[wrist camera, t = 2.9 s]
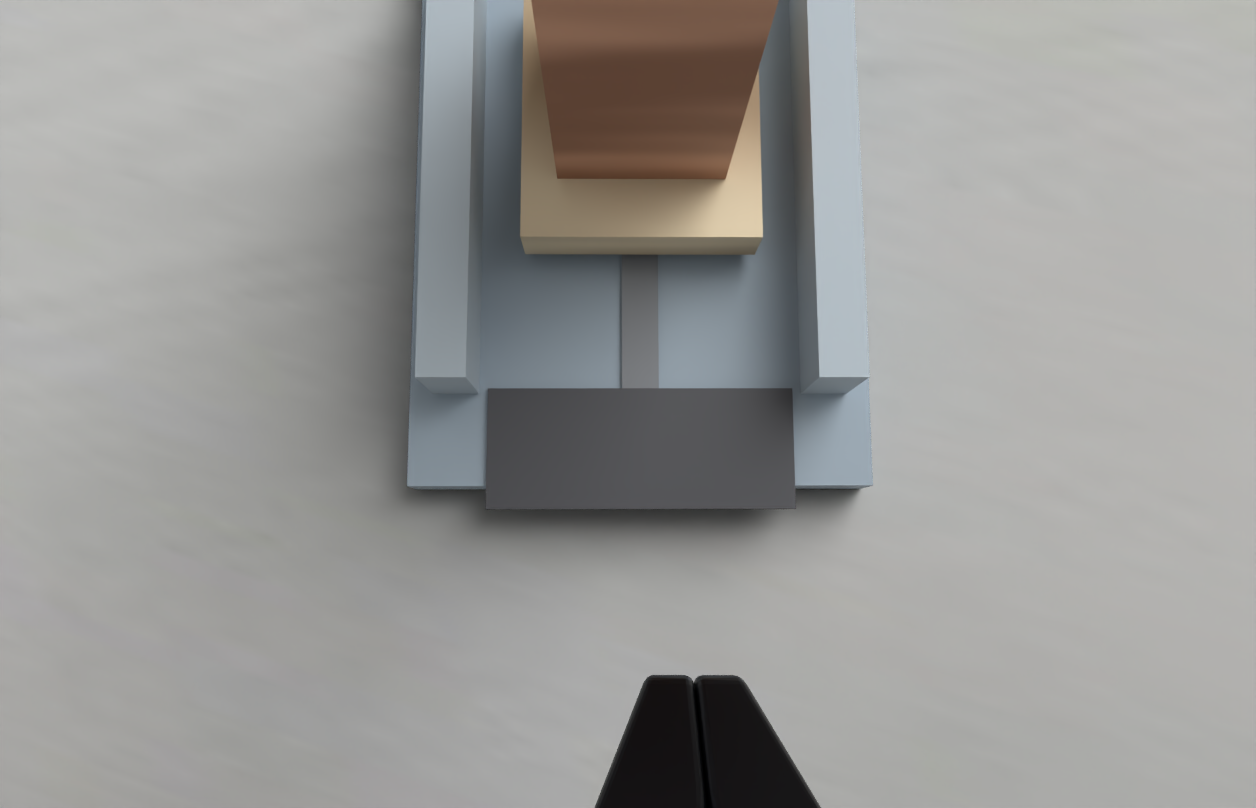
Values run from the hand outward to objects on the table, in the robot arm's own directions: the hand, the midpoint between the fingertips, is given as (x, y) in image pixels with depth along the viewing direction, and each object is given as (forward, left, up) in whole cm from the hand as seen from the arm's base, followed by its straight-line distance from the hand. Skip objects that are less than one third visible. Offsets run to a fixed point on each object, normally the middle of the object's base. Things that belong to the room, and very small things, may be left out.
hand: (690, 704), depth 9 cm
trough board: (+2, +12, -13) cm, 18 cm away
